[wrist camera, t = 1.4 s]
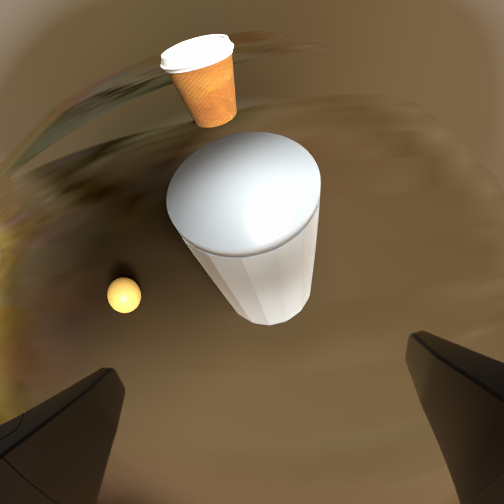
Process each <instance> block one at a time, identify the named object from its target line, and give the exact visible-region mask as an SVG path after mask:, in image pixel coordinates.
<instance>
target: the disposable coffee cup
mask: <svg viewBox="0 0 504 504" xmlns="http://www.w3.org/2000/svg"><path fill="white" fill-rule="evenodd" d="M233 48H234V44H233V43H232V42H230V40H229V38H228V36H227V35H223V34H214V35H206V36H200V37H196V38H193V39H190V40H187V41H184V42H181V43H179V44H177V45H175V46H173V47H171V48H169V49H168V50H166V51H165V52H164V53H163V54H162V55H161V59H162V63H161V68H162V69H164V70H165V71H166V72H167V73H168V75H169V76H170V78H171V80H172V82H173V83H174V85H175V87H176V89H177V90H178V92H179V94H180V96H181V98H182V100H183V101H184V103H185V105H186V107H187V108H188V110H189V112H190V114H191V116H192V117H193V119H194V121H195V123H196V125H198V126H200V127H206V128H209V127H216V126H219V125H222V124H225V123H227V122H228V121H230V120H231V119H232V118H233V117H234V116H235V115H236V112H237V110H236V99H235V87H234V75H233V63H232V52H233Z"/></svg>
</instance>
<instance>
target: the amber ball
mask: <svg viewBox="0 0 504 504" xmlns="http://www.w3.org/2000/svg"><path fill="white" fill-rule="evenodd" d="M107 297H108V301H109V303H110V305H111V306H112V307H113V308H114V309H115V310H116V311H118V312H122V313H128V312H131V311H133V310H134V309H136V308H137V306H138V305H139V303H140V300H141V292H140V289H139V287H138V285H137V284H136V283H135V282H134V281H133V280H131V279H129V278H118V279H116V280H114V281H113V282H112V283H111V284H110V286H109V288H108V292H107Z"/></svg>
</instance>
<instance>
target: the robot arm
mask: <svg viewBox="0 0 504 504" xmlns="http://www.w3.org/2000/svg"><path fill="white" fill-rule="evenodd" d="M406 363H407V366H408V369H409V372H410V374H411V377H412V380H413V383H414V386H415V389H416V392H417V394H418V397H419V400H420V403H421V405H422V407H423V410H424V412H425V414H426V416H427V418H428V421H429V423H430V425H431V427H432V430H433V432H434V434H435V437H436V439H437V441H438V444H439V446H440V449H441V451H442V454H443V456H444V459H445V461H446V464H447V466H448V469H449V472H450V475H451V477H452V480H453V483H454V486H455V489H456V492H457V495H458V498H459V501H460V504H504V363H503V362H500V361H498V360H495V359H493V358H490V357H488V356H485V355H483V354H480V353H478V352H475V351H473V350H470V349H468V348H465V347H463V346H460V345H458V344H455V343H453V342H450V341H448V340H445V339H443V338H440V337H438V336H435V335H433V334H430V333H428V332H426V331H423V330H421V331H417V332H414V333H411V334H410V335H409V338H408V344H407V350H406ZM124 396H125V387H124V385H123V383H122V381H121V380H120V378H119V376H118V374H117V372H116V371H115V370H114V369H113V368H101V369H99V370H97V371H96V372H94V373H92V374H91V375H89V376H87V377H86V378H84V379H82V380H81V381H79V382H77V383H75V384H74V385H72V386H70V387H69V388H67V389H65V390H63V391H62V392H60V393H58V394H56V395H55V396H53V397H51V398H49V399H48V400H46V401H44V402H42V403H41V404H39V405H37V406H35V407H34V408H32V409H30V410H28V411H26V412H25V413H23V414H21V415H19V416H17V417H16V418H14V419H12V420H10V421H8V422H6V423H4V424H2V425H0V504H97V501H98V497H99V493H100V489H101V485H102V481H103V477H104V473H105V470H106V466H107V463H108V459H109V456H110V452H111V449H112V445H113V442H114V439H115V436H116V432H117V428H118V424H119V419H120V414H121V409H122V405H123V400H124Z"/></svg>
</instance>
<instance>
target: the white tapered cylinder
mask: <svg viewBox="0 0 504 504" xmlns="http://www.w3.org/2000/svg"><path fill="white" fill-rule="evenodd" d="M320 184H321V183H320V173H319V169H318V167H317V164H316V162H315V160H314V159H313V157H312V156H311V155H310V154H309V152H308V151H307V150H306V149H304V148H303V147H302V146H301V145H299V144H298V143H296V142H295V141H293V140H291V139H288V138H286V137H283V136H280V135H276V134H272V133H265V132H245V133H237V134H233V135H228V136H225V137H222V138H219V139H217V140H214V141H212V142H210V143H208V144H206V145H204V146H203V147H201V148H199V149H198V150H196V151H195V152H194V153H192V154H191V155H190V156H189V157H188V158H187V159H186V160H185V161H184V162H183V163H182V164H181V165H180V166H179V168H178V169H177V170H176V172H175V174H174V175H173V177H172V179H171V181H170V184H169V187H168V191H167V199H166V203H167V210H168V214H169V216H170V219H171V221H172V223H173V224H174V225H175V227H176V228H177V230H178V231H179V233H180V235H181V236H182V238H183V240H184V242H185V243H186V244H187V246H188V247H189V249H190V250H191V251H192V253H193V254H194V256H195V257H196V258H197V260H198V261H199V262H200V264H201V265H202V267H203V268H204V269H205V271H206V272H207V273H208V275H209V276H210V277H211V279H212V280H213V281H214V283H215V284H216V285H217V287H218V288H219V289H220V291H221V292H222V293H223V295H224V296H225V297H226V299H227V300H228V301H229V303H230V304H231V305H232V307H233V308H234V309H235V310H236V312H237V313H238V314H239V315H241V316H242V317H244V318H246V319H247V320H249V321H251V322H252V323H257V324H264V325H273V324H277V323H281V322H285V321H288V320H289V319H290V318H292V317H293V316H294V315H296V314H297V313H298V312H300V311H301V310H302V308H303V306H304V305H305V303H306V301H307V300H308V298H309V296H310V290H311V282H312V274H313V266H314V257H315V247H316V238H317V227H318V216H319V200H320Z"/></svg>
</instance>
